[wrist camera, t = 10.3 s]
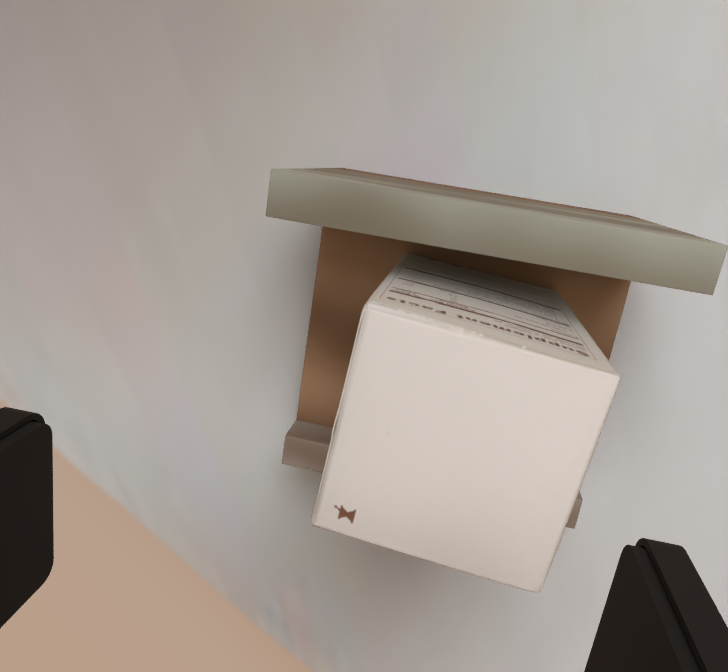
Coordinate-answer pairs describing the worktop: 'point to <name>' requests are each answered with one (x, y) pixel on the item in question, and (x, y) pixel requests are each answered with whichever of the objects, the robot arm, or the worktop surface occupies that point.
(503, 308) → the supplement box
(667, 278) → the wall shelf
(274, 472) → the worktop surface
